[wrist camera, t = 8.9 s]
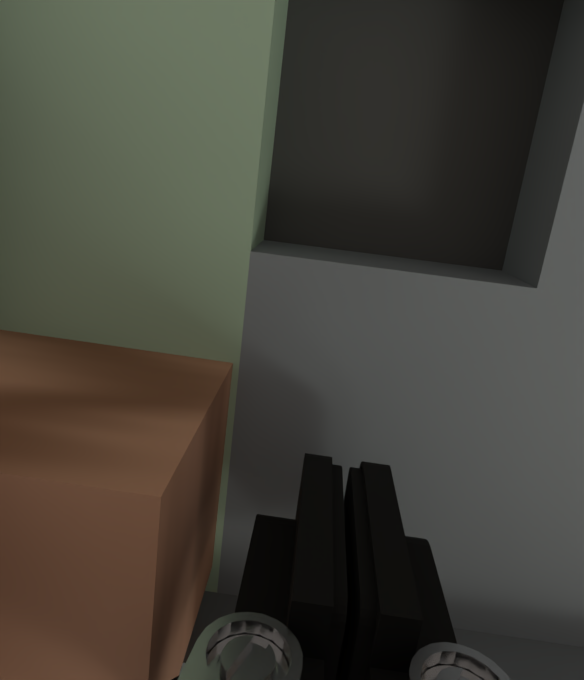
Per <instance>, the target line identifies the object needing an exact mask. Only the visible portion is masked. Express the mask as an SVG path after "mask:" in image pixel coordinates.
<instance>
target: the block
mask: <svg viewBox="0 0 584 680" xmlns="http://www.w3.org/2000/svg"><path fill="white" fill-rule="evenodd" d="M232 368H233V363H230V362H223V361H216V360H209V359H202V358H195V357H188V356H181V355H174V354H167V353H160V352H153V351H146V350H139V349H132V348H125V347H118V346H111V345H104V344H97V343H90V342H83V341H76V340H69V339H62V338H55V337H48V336H41V335H34V334H28V333H21V332H14V331H7V330H0V680H172V679H174V678H175V677H177V676H179V673H180V670H181V667H182V663H183V660H184V657H185V654H186V650H187V647H188V644H189V640H190V637H191V634H192V631H193V627H194V624H195V621H196V618H197V614H198V611H199V608H200V605H201V601H202V598H203V595H204V592H205V588H206V585H207V582H208V579H209V575H210V572H211V569H212V563H213V553H214V543H215V533H216V524H217V514H218V504H219V494H220V485H221V475H222V465H223V456H224V446H225V436H226V426H227V417H228V407H229V397H230V388H231V378H232Z"/></svg>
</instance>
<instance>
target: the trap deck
mask: <svg viewBox="0 0 584 680" xmlns="http://www.w3.org/2000/svg"><path fill="white" fill-rule="evenodd" d="M0 330H7V331H14V332H21V333H28V334H34V335H41V336H48V337H55V338H62V339H69V340H76V341H83V342H90V343H97V344H104V345H111V346H118V347H125V348H132V349H139V350H146V351H153V352H160V353H167V354H174V355H181V356H188V357H195V358H202V359H209V360H216V361H223V362H230V363H233V368H232V378H231V388H230V397H229V407H228V417H227V426H226V436H225V446H224V456H223V465H222V475H221V485H220V494H219V504H218V514H217V524H216V533H215V543H214V553H213V563H212V569H211V572H210V575H209V579H208V582H207V585H206V588H205V592H204V595H203V598H202V601H201V605H200V608H199V611H198V614H197V618H196V621H195V624H194V627H193V631H192V634H191V637H190V640H189V644H188V647H187V650H186V654H185V657H184V660H183V663H182V667H181V670H180V673H179V675H180V674H181V671H182V669H183V667H184V665H185V663H186V661H187V659H188V657H189V655H190V653H191V651H192V649H193V647H194V645H195V643H196V641H197V639H198V637H199V636H200V635H201V633H202V632H203V631H204V629H205V628H206V627H207V626H208V625H210V624H211V623H212V622H214V621H215V620H217V619H218V618H221V617H223V616H226V615H229V614H232V613H235V608H236V604H237V599H238V595H239V590H240V586H241V581H242V577H243V572H244V568H245V563H246V559H247V554H248V550H249V545H250V541H251V536H252V532H253V527H254V523H255V518H256V515H257V514H261V515H268V516H275V517H282V518H288V519H295V517H296V510H297V503H298V496H299V489H300V483H301V476H302V469H303V462H304V456H305V453H308V454H315V455H322V456H329V457H332V464H333V465H340V466H342V472H343V496H345V490H346V484H347V478H348V473H349V469H350V467H354V468H359V467H360V464H361V462H362V461H364V462H371V463H378V464H385V465H390V467H391V472H392V477H393V481H394V486H395V491H396V495H397V500H398V505H399V510H400V514H401V519H402V524H403V528H404V533H405V536H410V537H417V538H423V539H426V540H428V542H429V544H430V547H431V550H432V554H433V557H434V561H435V565H436V568H437V572H438V576H439V579H440V583H441V586H442V590H443V594H444V597H445V601H446V605H447V608H448V612H449V615H450V619H451V623H452V626H453V630H454V634H455V637H456V641H457V644H461V645H464V646H466V647H469V648H471V649H474V650H477V651H478V652H480V653H482V654H483V655H485V656H486V657H488V658H489V659H491V660H493V661H494V662H495V663H496V664H497V665H498V666H499V667H500V668H501V669H502V670H503V671H504V672H505V673H506V674H507V675H508V676H509V678H510V679H511V680H584V0H0Z"/></svg>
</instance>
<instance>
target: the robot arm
mask: <svg viewBox="0 0 584 680" xmlns="http://www.w3.org/2000/svg"><path fill="white" fill-rule="evenodd" d="M172 680H511V679H510V678H509V676H508V675H507V674H506V673H505V672H504V671H503V670H502V669H501V668H500V667H499V666H498V665H497V664H496V663H495V662H494V661H493V660H491V659H489V658H488V657H486V656H485V655H483V654H482V653H480V652H478V651H477V650H474V649H471V648H469V647H466V646H464V645H461V644H457V641H456V637H455V634H454V630H453V626H452V623H451V619H450V615H449V612H448V608H447V605H446V601H445V597H444V594H443V590H442V586H441V583H440V579H439V576H438V572H437V568H436V565H435V561H434V557H433V554H432V550H431V547H430V544H429V542H428V540H426V539H423V538H417V537H410V536H405V533H404V528H403V524H402V519H401V514H400V510H399V505H398V500H397V495H396V491H395V486H394V481H393V477H392V472H391V467H390V465H385V464H378V463H371V462H364V461H362V462H361V464H360V467H359V468H354V467H350V469H349V473H348V478H347V484H346V490H345V496H343V472H342V466H340V465H333V464H332V457H329V456H322V455H315V454H308V453H305V456H304V462H303V469H302V476H301V483H300V489H299V496H298V503H297V510H296V517H295V519H288V518H282V517H275V516H268V515H261V514H257V515H256V518H255V523H254V527H253V532H252V536H251V541H250V545H249V550H248V554H247V559H246V563H245V568H244V572H243V577H242V581H241V586H240V590H239V595H238V599H237V604H236V608H235V613H232V614H229V615H226V616H223V617H221V618H218V619H217V620H215V621H214V622H212V623H211V624H210V625H208V626H207V627H206V628H205V629H204V631H203V632H202V633H201V635H200V636H199V637H198V639H197V641H196V643H195V645H194V647H193V649H192V651H191V653H190V655H189V657H188V659H187V661H186V663H185V665H184V667H183V669H182V671H181V674H180V675H179V676H177V677H175V678H174V679H172Z"/></svg>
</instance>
